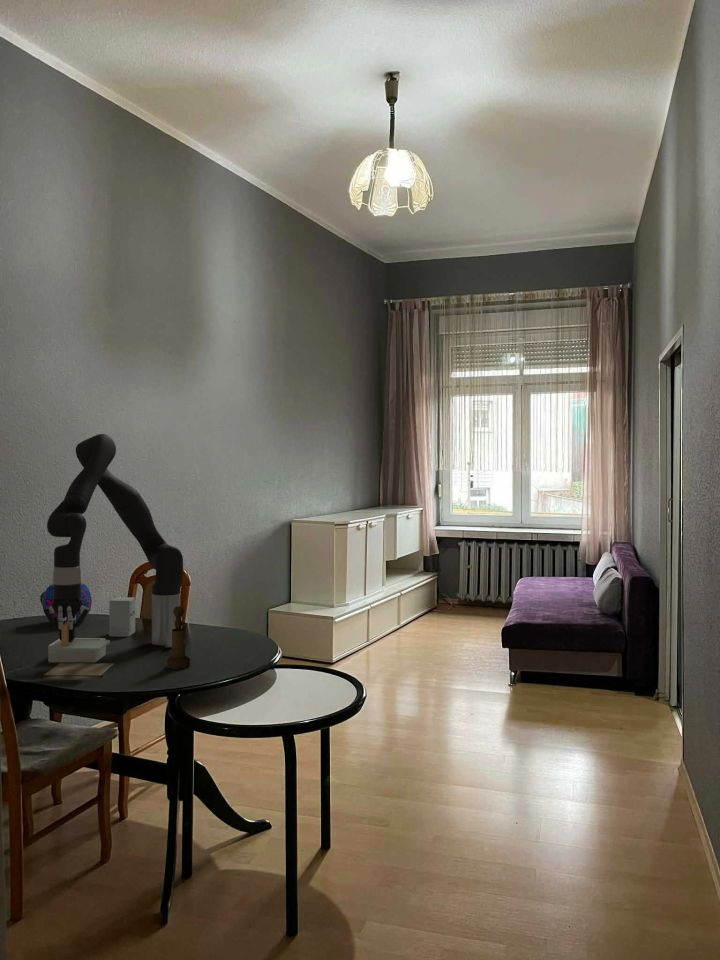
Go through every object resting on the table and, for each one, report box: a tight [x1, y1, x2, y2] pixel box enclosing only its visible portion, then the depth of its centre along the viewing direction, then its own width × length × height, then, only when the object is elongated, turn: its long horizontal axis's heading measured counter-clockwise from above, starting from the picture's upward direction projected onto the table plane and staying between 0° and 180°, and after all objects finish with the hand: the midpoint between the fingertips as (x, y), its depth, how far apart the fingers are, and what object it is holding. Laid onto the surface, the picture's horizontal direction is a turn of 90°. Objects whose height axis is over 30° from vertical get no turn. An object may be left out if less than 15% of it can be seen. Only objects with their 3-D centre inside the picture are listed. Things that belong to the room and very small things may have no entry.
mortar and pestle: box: [166, 605, 191, 670], centre depth 242 cm, size 7×6×18 cm
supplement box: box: [108, 596, 136, 638], centre depth 286 cm, size 7×7×13 cm
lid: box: [47, 622, 111, 652], centre depth 235 cm, size 14×10×7 cm
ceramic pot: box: [39, 581, 93, 622], centre depth 305 cm, size 18×18×15 cm
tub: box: [47, 637, 107, 663], centre depth 248 cm, size 14×10×6 cm
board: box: [43, 662, 114, 680], centre depth 235 cm, size 16×13×1 cm
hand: (67, 641), depth 235 cm, fingers closed on lid, 1 cm apart
